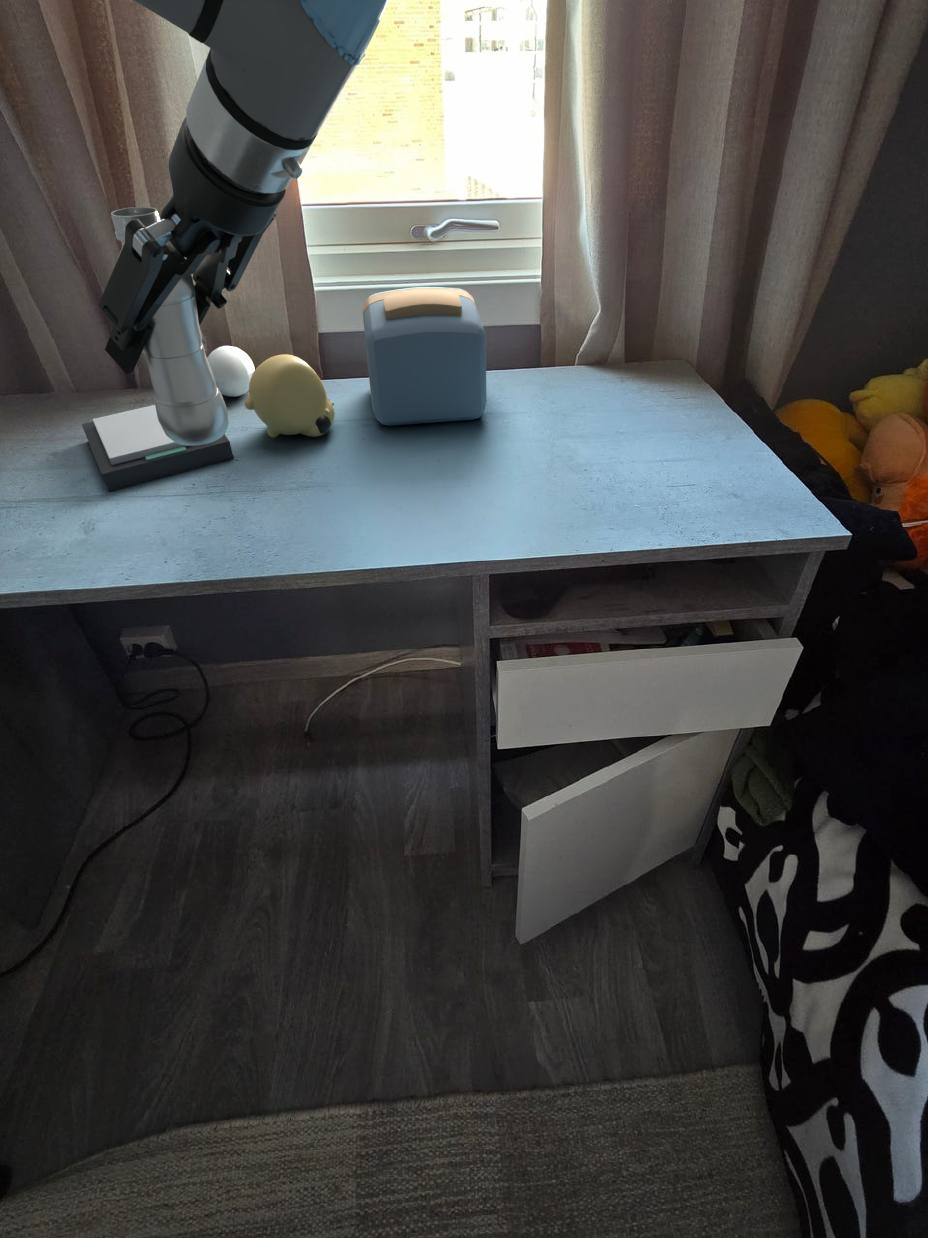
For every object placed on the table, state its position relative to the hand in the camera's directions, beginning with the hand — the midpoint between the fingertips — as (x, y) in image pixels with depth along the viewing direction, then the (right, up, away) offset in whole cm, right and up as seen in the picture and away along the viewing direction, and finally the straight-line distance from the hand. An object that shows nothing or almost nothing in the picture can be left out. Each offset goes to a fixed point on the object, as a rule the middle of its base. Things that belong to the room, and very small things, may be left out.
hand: (148, 348), depth 65 cm
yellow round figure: (+6, +1, +33) cm, 34 cm away
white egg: (-6, +10, +44) cm, 45 cm away
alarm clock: (+24, +7, +39) cm, 47 cm away
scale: (-12, -2, +29) cm, 32 cm away
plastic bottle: (+3, -8, +4) cm, 9 cm away
